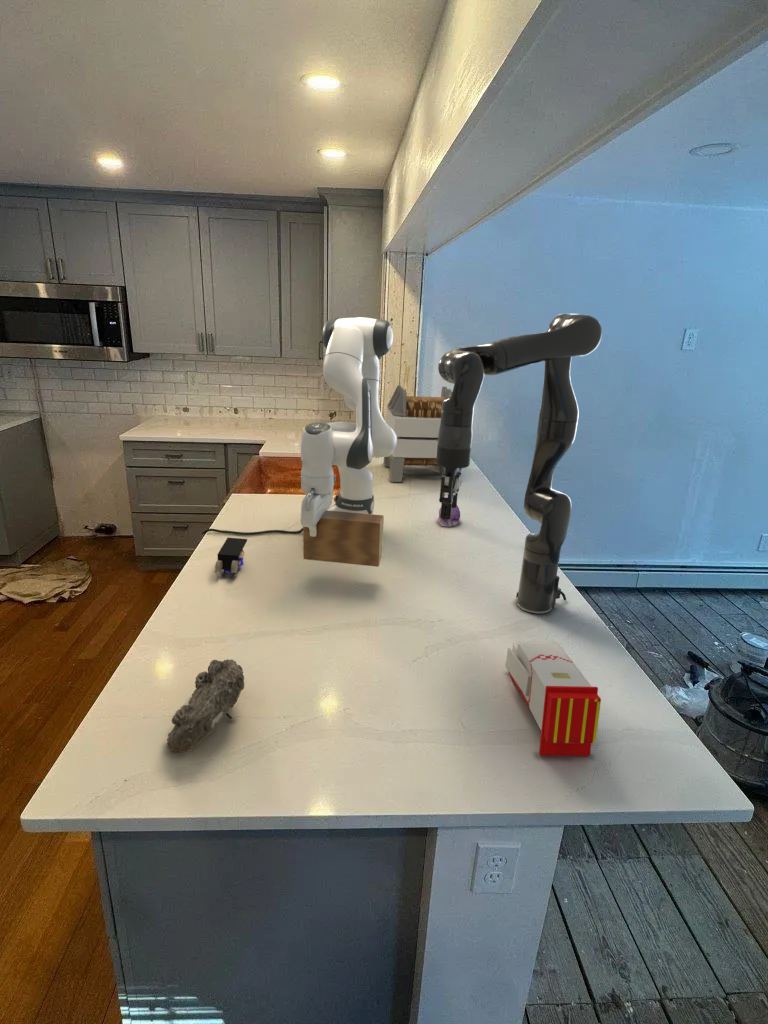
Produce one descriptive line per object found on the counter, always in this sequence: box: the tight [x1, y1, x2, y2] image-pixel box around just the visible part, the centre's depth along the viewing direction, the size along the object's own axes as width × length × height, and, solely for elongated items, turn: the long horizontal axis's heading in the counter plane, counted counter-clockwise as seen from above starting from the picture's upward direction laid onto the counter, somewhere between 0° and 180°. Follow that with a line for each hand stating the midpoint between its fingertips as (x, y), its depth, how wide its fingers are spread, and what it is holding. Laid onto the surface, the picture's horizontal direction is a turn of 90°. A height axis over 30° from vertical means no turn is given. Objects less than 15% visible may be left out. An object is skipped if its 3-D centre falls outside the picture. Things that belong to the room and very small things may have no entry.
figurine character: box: [214, 537, 248, 578], centre depth 166 cm, size 7×8×15 cm
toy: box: [505, 641, 602, 757], centre depth 113 cm, size 12×13×30 cm
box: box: [302, 510, 385, 568], centre depth 159 cm, size 22×6×13 cm, turn 81°
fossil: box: [166, 658, 245, 754], centre depth 106 cm, size 22×10×15 cm
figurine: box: [437, 494, 461, 528], centre depth 209 cm, size 9×10×15 cm
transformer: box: [383, 384, 453, 483], centre depth 268 cm, size 34×33×41 cm
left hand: (317, 530), depth 159 cm, fingers closed on box, 6 cm apart
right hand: (448, 512), depth 131 cm, fingers open, 8 cm apart
